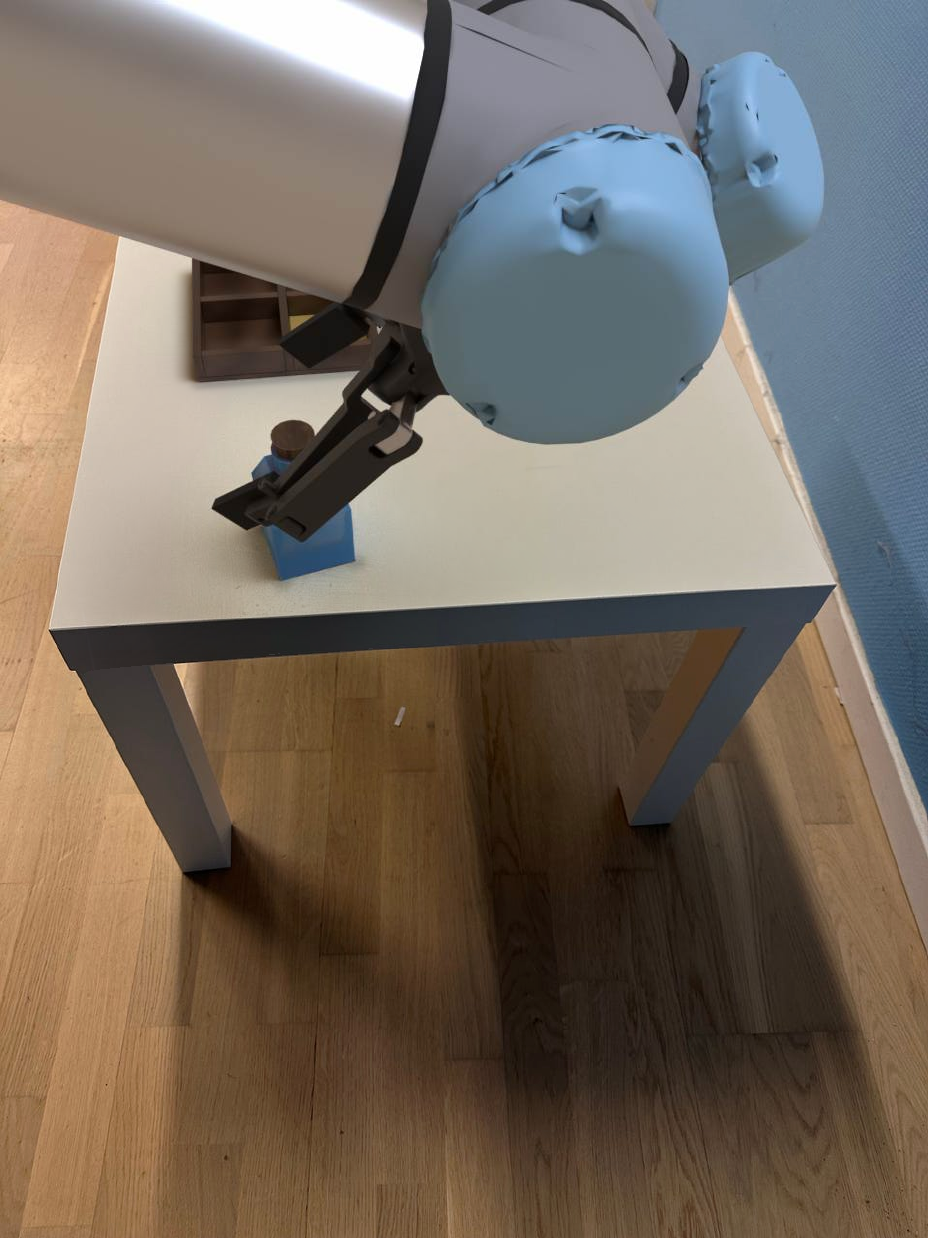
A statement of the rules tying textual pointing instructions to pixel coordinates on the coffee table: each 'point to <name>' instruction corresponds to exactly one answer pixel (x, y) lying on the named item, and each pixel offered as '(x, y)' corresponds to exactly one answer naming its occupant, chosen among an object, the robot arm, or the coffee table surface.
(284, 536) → the perfume bottle
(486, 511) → the coffee table surface
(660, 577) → the coffee table surface
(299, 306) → the wooden compartment tray
